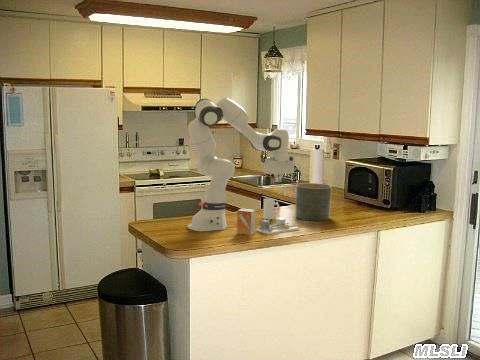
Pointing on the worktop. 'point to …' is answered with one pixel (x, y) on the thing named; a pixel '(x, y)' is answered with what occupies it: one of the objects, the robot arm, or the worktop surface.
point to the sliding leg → (281, 222)
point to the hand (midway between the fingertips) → (278, 181)
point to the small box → (246, 221)
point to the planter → (313, 201)
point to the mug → (269, 209)
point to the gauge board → (275, 228)
